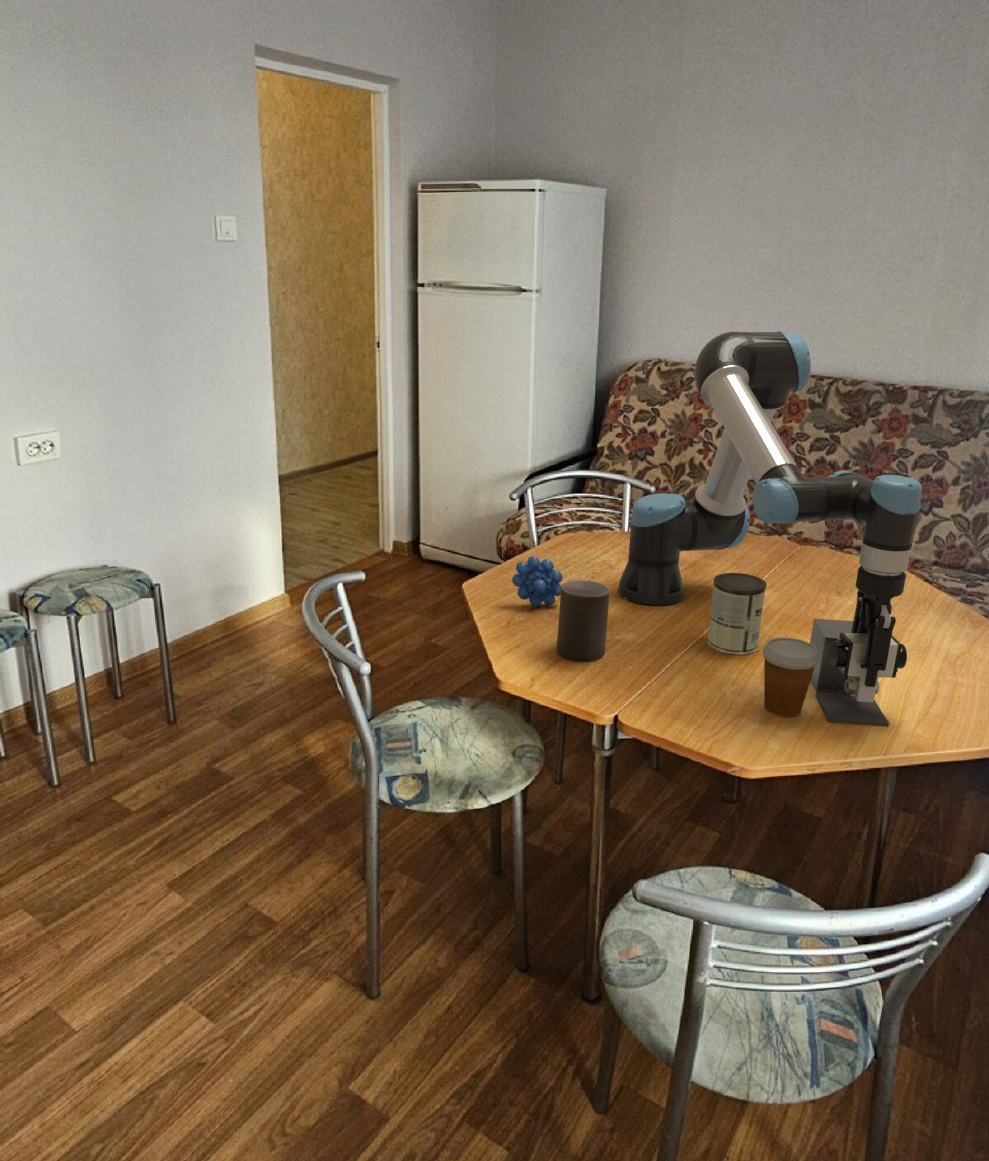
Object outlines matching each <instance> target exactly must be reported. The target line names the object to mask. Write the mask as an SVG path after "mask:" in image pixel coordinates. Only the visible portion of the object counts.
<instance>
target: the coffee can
mask: <svg viewBox="0 0 989 1161" xmlns="http://www.w3.org/2000/svg"><path fill="white" fill-rule="evenodd" d="M766 589H767V581H765V580H764V579H763V578H761V577H758V576H755V575H753V574H747V573H740V572H725V573H720V574H718V575H715V576H714V578H713V591H712V598H711V600H712V601H711V610H710V617H709V618H710V619H709V627H708V637H707V641H706V642H707V645H708V644H709V645H708V646H709V648H711V649H713V650H714V649H715V650H714V651H717V652H719V651H720V652H719V653H723V654H727V655H733V654H734V655H736V656H745V655H751V654H754V653H756V651H758V648H759V640H760V632H761V624H762V617H763V609H764V601H765V593H766ZM734 655H733V656H734Z"/></svg>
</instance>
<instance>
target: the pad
mask: <svg viewBox="0 0 989 1161" xmlns="http://www.w3.org/2000/svg"><path fill="white" fill-rule="evenodd" d="M851 695H852V694H839V693H823V692H816V693H815V697H816V699H817V701H818V703H819V706H820V707H821V709H822V711H823V713H824V715H825V718H827V721H828V723H835V724H848V725H849V724H851V725H863V726H864V725H865V726H867V725H868V726H880V727H889V725H890V722H889V721H888V719H887V717H886V716H885V714H884V713H883V711H882V710H881V708H880V707H879V705H878V703H877V702H876V700H875V699H874V702H861V701H857V700H856V699H854V698H852V697H851Z"/></svg>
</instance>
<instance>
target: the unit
mask: <svg viewBox="0 0 989 1161" xmlns="http://www.w3.org/2000/svg"><path fill="white" fill-rule="evenodd" d="M852 626H853V620H843V619H826V618H813V622H812V627H811V633H810V641H809V643H810V644H812V645H813V646H815V647H816V648H817V650H818V655H819V658H820V659H819V662H818V663H817V665H816V666H815V668H814V671H813V674H812V678H811V681H810V684H812V687H813V689H814V690H815V692H816V693H829V694H844V695H852V694H851V693H847V692H846V691H845V681H846V680H847V679H848V676H843V675H842V673H841V672H840V671H839V669H838V668H837V667H834V666H832V664H831V662H830V656H829V652H830V646H831V644H832V642H834V641H835V642H839V641H838V638H839V637H840V633H851V631H852Z"/></svg>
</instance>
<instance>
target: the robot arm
mask: <svg viewBox="0 0 989 1161" xmlns="http://www.w3.org/2000/svg"><path fill="white" fill-rule="evenodd" d="M811 360H812V359H811V356H810V350H809V347H808V345H807V342H806V341H805V340H804V338H803V337H802V336H801V335H799V334H798V333H795V332H785V331H780V330H778V331H772V332H770V331H769V332H767V331H763V332H760V331H759V332H758V331H729V332H725V333H720V334H719V335H717V336H715V337H713V338H712V339H710V340H709V341H708V342H706V344H705V345H704V347H703V348H702V349H701V350H700V353H699V354H698V355H697V358H696V361H695V365H694V371H693V372H694V382H695V383H694V384H695V387H696V389H697V392H698V394H699V395H700V396H699V397H701V399H702V401H703V402H704V403H705V404H706V405H708V406H709V407H712V408H713V410H714V411H715V414H716V415H717V417H718V419H719V420H720V422H721V424H722V426H723V428H724V429H723V432H722V435H721V438H720V441H719V444H718V447H717V449H716V453H715V456H714V458H713V461H712V464H711V468H710V469H709V474H708V476H707V479H706V482H705V483H703V484H702V485H700V486H698V487H697V489H696V490H695V493H694V496H693V499H692V500H685V497H683V496H682V495H679V494H677V493H664V492H663V493H653V494H648V495H646V496H642V497H640V498H637V500H636V501H635V502H634V504H633V507H632V513H631V516H630V534H629V546H628V547H629V548H628V557H627V558H628V560H627V562H626V565H625V567H624V570H623V572H622V574H621V577H620V579H619V581H618V590H617V591H618V594H619V593H620V594H619V595H620V596H621V597H622V598H623V597H625V598H627V599H629V600H631V601H630V602H632V601H633V602H632V603H636V602H640V603H644V604H643V605H646V604H650V605H649V606H667V604H669V605H673V604H672V603H674V604H676V602H677V603H678V602H681V601H682V600H683V598H684V592H685V591H684V590H685V587H684V583H683V579H682V574H681V570H680V566H679V564H680V556H681V552H692V551H695V552H696V551H714V550H716V551H721V550H726V549H732V548H735V547H738V546H739V545H740V544H741V543H742V542H743V541H744V540H745V538H746V537H747V535H748V531H749V529H750V522H749V521H750V517H751V515H750V511H749V508H748V507H749V506H748V505H747V503H746V499H745V498H744V496H743V495H744V493H745V490H746V488H747V485H748V482H749V479H750V477H751V478H752V480H753V481H754V483H755V486H754V488H753V491H752V494H751V496H752V497H751V503H752V505H753V513H754V514H755V516H756V517H757V519H759V521H761V522H764V523H767V524H790V523H801V522H803V523H804V522H805V523H806V522H824V521H825V522H827V521H829V522H830V521H844V520H845V521H847V520H848V521H853V522H855V523H857V524H859V525H861V526H864V527H865V529H864V535H863V540H862V543H861V548H860V555H859V559H858V563H859V565H860V566H859V567H858V569H857V572H856V574H857V575H856V579H855V580H856V581H855V588H856V589H857V593H856V604H855V605H856V606H855V611H854V616H853V620H852V621H853V626H852V631H851V633H866V634H868V635H867V644H868V645H867V651H866V658H865V665H864V664H860V667H861V668H862V673H861V677H860V681H859V686H858V692H857V697H856V700H857V701H861V702H874V700H875V698H874V696H875V695H876V694H875V691H876V686H877V681H878V679H879V677H878V675H879V670H881V671H885V669H886V664H887V659H888V653H889V648H890V642H891V637H892V636H893V630H894V628H895V626H896V622H897V619H896V616H891V614H892V604H891V600H892V599H894V598H895V597H899V596H901V595H902V594H903V593H904V588H905V583H906V579H907V574H906V571H908V566H909V561H910V557H912V556H914V553H913V551H912V547H913V542H914V536H915V532H916V527H917V522H918V517H919V513H920V510H921V506H922V505H921V501H922V500H921V499H922V493H923V486H922V484H921V482H920V481H918V480H917V479H915V478H912V477H907V476H904V475H895V474H883V475H879V476H877V477H875V478H874V480H873V479H870V478H868V477H865V476H864V475H863V474H859V473H857V472H851V471H848V470H838V471H836V472H834V473H832V474H831V475H828V476H823V477H821V476H818V477H805V476H804V475H803V473H802V472H801V470H800V469H799V467H798V465H797V464H796V463H795V461H794V459H793V457H792V456H791V454H790V452H789V451H788V449H787V447H786V446H785V444H784V442H783V440H782V438H780V437H781V436H779V434H778V432H777V431H776V429H775V427H774V425H773V423H772V419H773V417H774V414H775V412H776V411H777V410H780V409H782V408H784V407H785V406H786V404H787V401H788V399H789V397H790V394H791V393H797V392H798V391H801V390H803V389H805V387H806V386H807V384H808V382H809V379H810V375H811V372H812V371H811V369H812V363H811V362H812V361H811ZM625 598H624V599H625ZM627 599H626V600H627ZM629 600H628V601H629ZM640 603H639V604H640ZM848 679H850V678H849V677H848ZM878 682H879V681H878ZM875 697H876V696H875Z"/></svg>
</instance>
